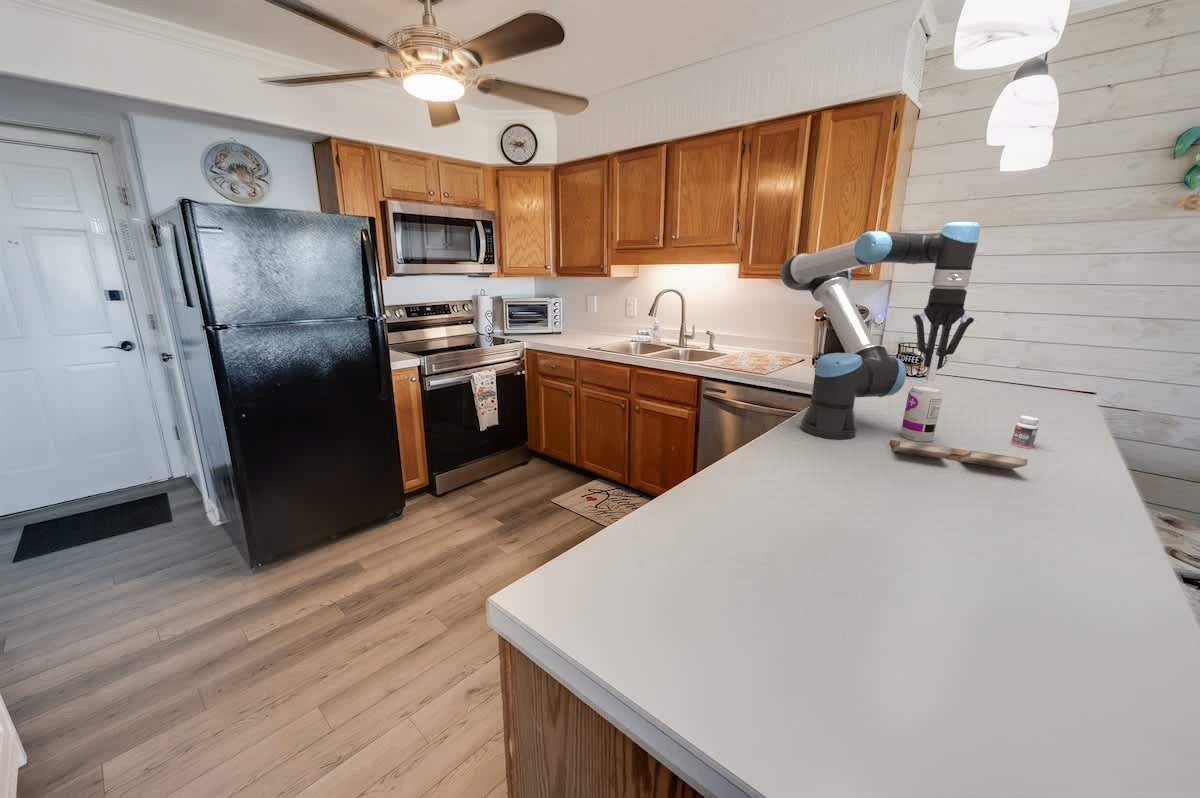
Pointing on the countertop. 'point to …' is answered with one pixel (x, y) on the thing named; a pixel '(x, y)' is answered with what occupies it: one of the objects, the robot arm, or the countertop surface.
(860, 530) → the countertop surface
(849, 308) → the robot arm
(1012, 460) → the plank
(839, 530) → the countertop surface
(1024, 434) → the pill bottle
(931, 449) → the plank
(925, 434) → the supplement can
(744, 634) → the countertop surface
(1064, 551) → the countertop surface
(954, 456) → the laid board
